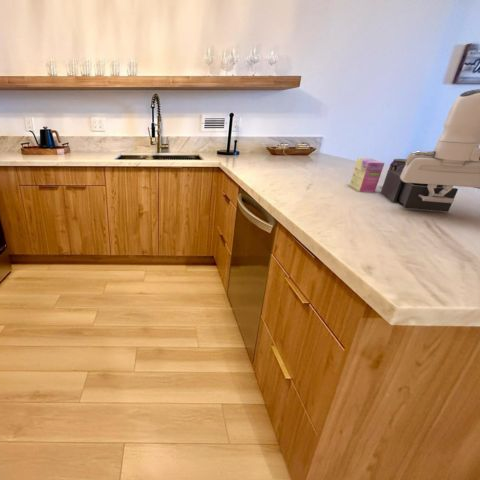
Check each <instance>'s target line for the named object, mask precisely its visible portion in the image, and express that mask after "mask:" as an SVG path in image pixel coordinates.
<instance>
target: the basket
mask: <svg viewBox="0 0 480 480" xmlns="http://www.w3.org/2000/svg"><path fill="white" fill-rule="evenodd" d="M427 186H428V184H420V183H406V182H403V184H402V187H401V190H400V192H399V195H398V198H397V200H399V201H400V202H401V203H400V204H403V208H404V209H410V210H411V209H413V210H422V211H435V212H443V213H444V212H445V213H448V212H449V211H450V210H451V206H452V204H453V203H454V201H455V197H456V195H457V193H458V191H459V189H458V188H456V187H452V190H450V191H449V192H448V193H446V194H445V195H444V196H443V198H440V197H428V195H429V193H430V192H429V190H428V187H427ZM433 189H434V192H435V193H439V192H440V191H442V190H443V189H444V188H443V185H437V187H436V188H433Z"/></svg>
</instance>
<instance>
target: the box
mask: <svg viewBox="0 0 480 480" xmlns="http://www.w3.org/2000/svg"><path fill="white" fill-rule="evenodd" d="M384 166H385V162H382V161H379V160H376V159H374V158H369V157H368V158H367V157H366V158H365V157H363V158H362V157H357V158H356V161H355V165H354V168H353V172H352V175H351V178H350V182H349V185H348V186H349V187H351V188H352V189H354V190H355V191H358V192H360V193H375V192H376V189H377V186H378V184H379V181H380V177H381V176H382V172H383V170H384Z"/></svg>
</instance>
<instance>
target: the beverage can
mask: <svg viewBox="0 0 480 480" xmlns="http://www.w3.org/2000/svg"><path fill="white" fill-rule="evenodd" d="M406 160H407V158H394V159H393V161H391V162H390V165H389V168H388V170H398V171H403V169H404V167H405V165H406Z"/></svg>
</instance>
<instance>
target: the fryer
mask: <svg viewBox="0 0 480 480" xmlns="http://www.w3.org/2000/svg"><path fill="white" fill-rule="evenodd" d="M401 173H402V171H398V170H389V169H388V170H387V172H386V175H385V178H384V182H383V184H382V188H381V191H380V193H381V194H382V195H383V196H385V198H387V200H390V201H391V203H393V204H402V203H401V202H400V201H399V200H397V198H398V195H399V192H400V190H401V187H402V184H403V181H402V180H401V179H400V175H401Z"/></svg>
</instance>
